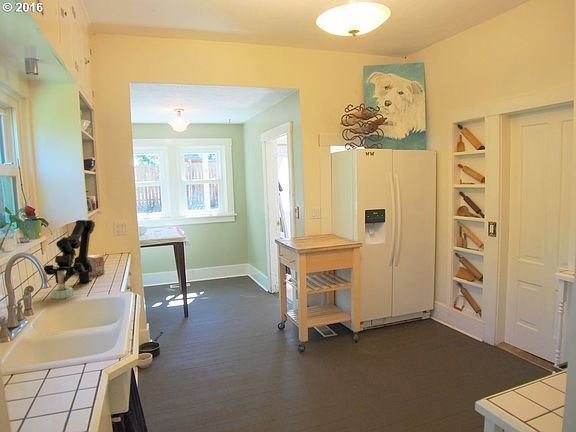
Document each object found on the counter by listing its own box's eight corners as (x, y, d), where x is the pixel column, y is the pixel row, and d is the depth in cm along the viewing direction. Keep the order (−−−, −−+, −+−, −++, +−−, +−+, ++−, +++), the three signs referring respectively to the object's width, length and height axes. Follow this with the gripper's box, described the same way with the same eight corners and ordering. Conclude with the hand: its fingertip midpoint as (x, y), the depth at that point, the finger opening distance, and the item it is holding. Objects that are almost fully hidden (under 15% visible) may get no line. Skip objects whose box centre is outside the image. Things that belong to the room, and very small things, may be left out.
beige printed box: (76, 273, 257) (75, 255, 257) (85, 271, 263) (84, 253, 262) (96, 276, 247) (94, 257, 246) (104, 274, 252) (103, 255, 251)
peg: (63, 293, 202) (61, 270, 201) (67, 293, 201) (65, 270, 200) (57, 295, 199) (55, 271, 198) (62, 295, 198) (60, 271, 197)
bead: (58, 294, 205) (57, 287, 204) (76, 293, 205) (75, 286, 205) (48, 299, 195) (47, 292, 195) (67, 298, 196) (66, 291, 196)
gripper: (43, 250, 201) (34, 275, 191) (81, 248, 204) (74, 273, 194) (51, 262, 209) (43, 287, 199) (87, 260, 212) (81, 284, 202)
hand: (60, 282), depth 198 cm, fingers closed on peg, 3 cm apart
